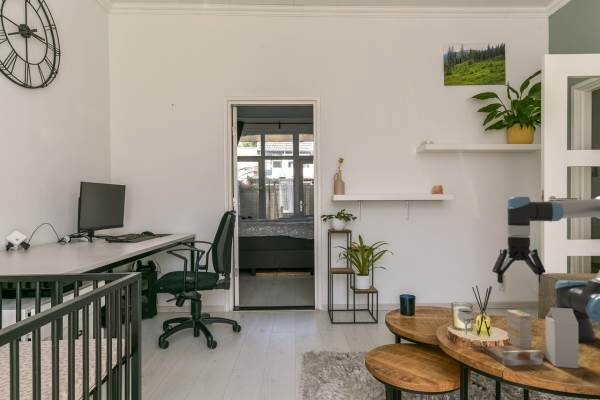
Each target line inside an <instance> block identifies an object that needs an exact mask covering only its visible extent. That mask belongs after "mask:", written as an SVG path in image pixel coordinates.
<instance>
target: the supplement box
mask: <svg viewBox="0 0 600 400" xmlns="http://www.w3.org/2000/svg"><path fill="white" fill-rule="evenodd" d="M506 329H507V330H506V333H507V334H506V335H507V336H508V337H509V338H510V344H511V345H510V344H509V345H510V346H515V345H519V346H521V347H523V348H525V349H526V350H533V345H532V344H533V343H532V341H533V339H532V336H533V335H532V334H533V333H532V332H533V331H532V315H531V314H528V313H526V312H523V311H521V310H518V309H514V310H513V309H509V310H508V309H507V310H506Z"/></svg>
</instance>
